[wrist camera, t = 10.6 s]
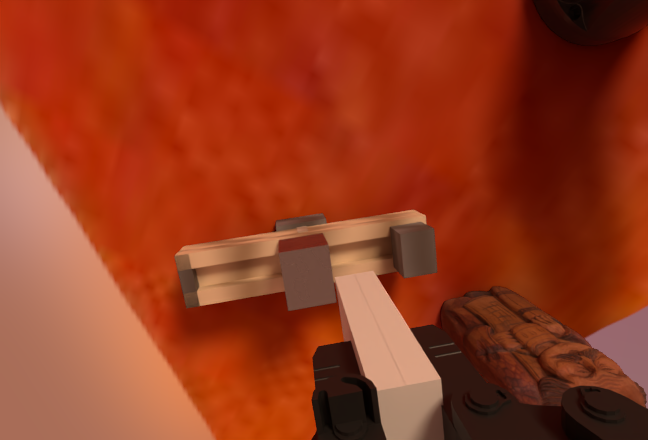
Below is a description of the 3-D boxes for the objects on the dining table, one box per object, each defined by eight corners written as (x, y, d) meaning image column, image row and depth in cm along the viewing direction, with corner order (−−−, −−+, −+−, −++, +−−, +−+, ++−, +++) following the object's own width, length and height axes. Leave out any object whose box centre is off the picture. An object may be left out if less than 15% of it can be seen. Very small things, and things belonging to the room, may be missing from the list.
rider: (287, 287, 35) (288, 311, 30) (278, 236, 34) (278, 252, 29) (328, 280, 35) (336, 302, 30) (321, 230, 34) (328, 244, 29)
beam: (201, 287, 40) (179, 329, 31) (189, 234, 38) (162, 261, 29) (408, 252, 42) (443, 282, 33) (403, 200, 40) (438, 216, 31)
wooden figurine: (528, 279, 44) (692, 367, 27) (528, 327, 45) (684, 442, 28) (433, 295, 43) (540, 398, 26) (436, 344, 44) (539, 474, 27)
